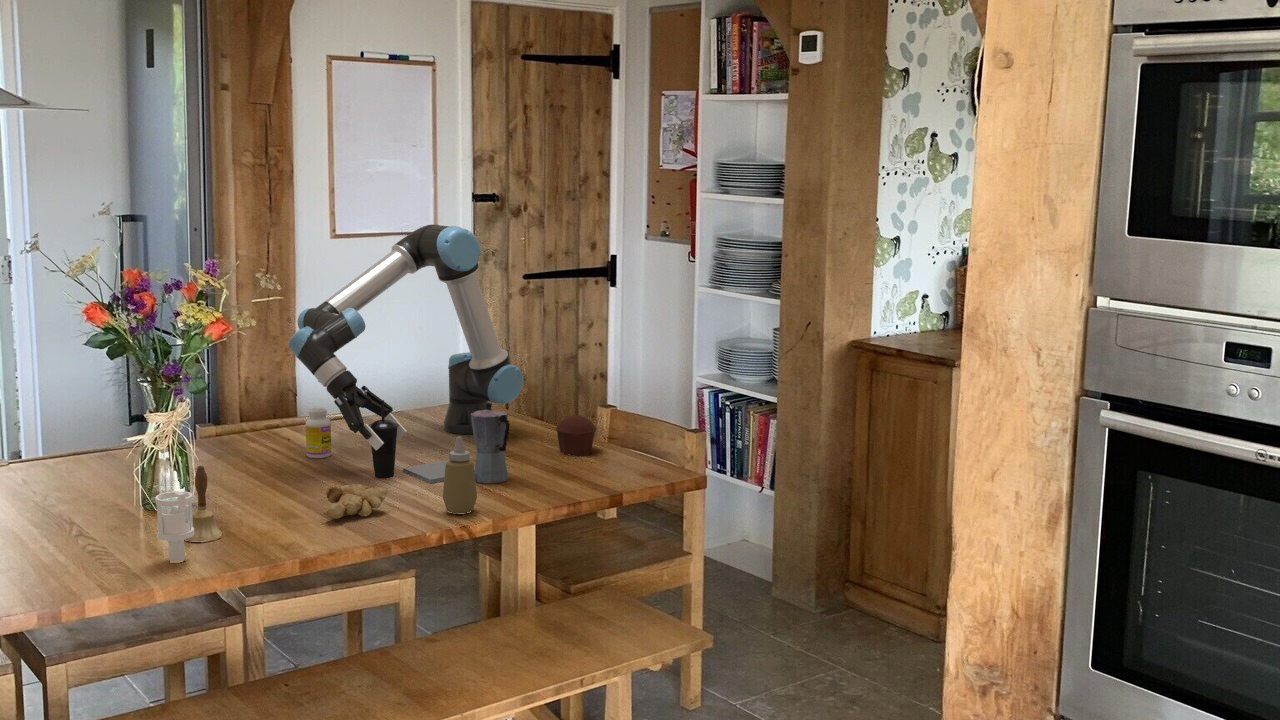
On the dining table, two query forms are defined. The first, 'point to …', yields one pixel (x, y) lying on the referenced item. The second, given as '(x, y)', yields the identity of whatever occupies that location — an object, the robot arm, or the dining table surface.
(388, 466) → the drinking cup
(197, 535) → the hand bell
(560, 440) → the muffin
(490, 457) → the moka pot
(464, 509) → the squeeze bottle
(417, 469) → the slate coaster
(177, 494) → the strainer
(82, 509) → the dining table surface
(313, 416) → the supplement bottle
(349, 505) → the ginger root
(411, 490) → the dining table surface
